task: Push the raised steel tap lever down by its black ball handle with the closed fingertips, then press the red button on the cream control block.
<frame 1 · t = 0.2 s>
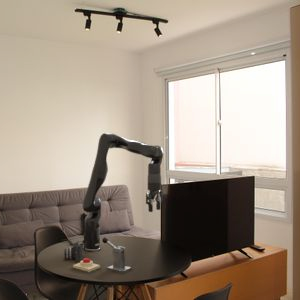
hand: (154, 210, 213), 29 cm above the table, tool pointing down, fingers open, 8 cm apart
tap lever: (111, 245, 206), point 12 cm above the table, hinge at 25.0°
tap bracket: (119, 269, 203), on the table
camera: (74, 259, 222), on the table
button block: (86, 269, 204), on the table
button: (86, 260, 204), point 4 cm above the table, slide at 0.1 cm
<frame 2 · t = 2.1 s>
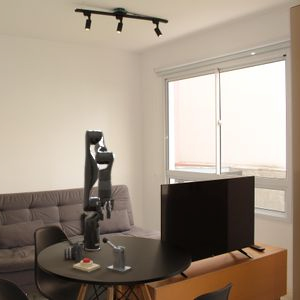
hand: (105, 219, 208), 25 cm above the table, tool pointing down, fingers open, 5 cm apart
nothing on the table moved.
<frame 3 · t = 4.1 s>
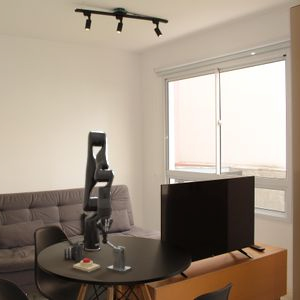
hand: (104, 238, 209), 15 cm above the table, tool pointing down, fingers closed
tap lever: (111, 245, 206), point 12 cm above the table, hinge at 21.9°, touching gripper
everything else where it was.
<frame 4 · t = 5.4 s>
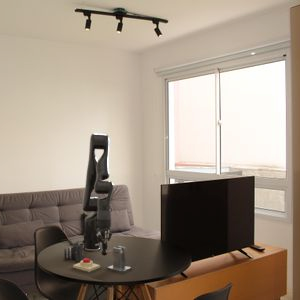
hand: (104, 249, 209), 9 cm above the table, tool pointing down, fingers closed
tap lever: (111, 251, 206), point 9 cm above the table, hinge at -15.0°, touching gripper
everything else where it was.
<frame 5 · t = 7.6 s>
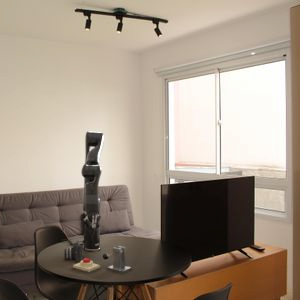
hand: (92, 234, 206), 18 cm above the table, tool pointing down, fingers closed
tap lever: (112, 253, 206), point 8 cm above the table, hinge at -27.2°
everything else where it was.
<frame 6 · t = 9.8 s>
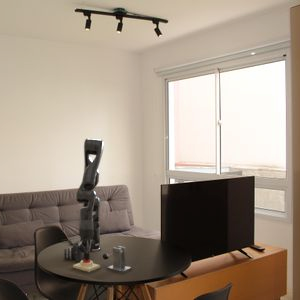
hand: (86, 259, 204), 5 cm above the table, tool pointing down, fingers closed
button: (86, 261, 204), point 4 cm above the table, slide at -0.3 cm, touching gripper
everything else where it was.
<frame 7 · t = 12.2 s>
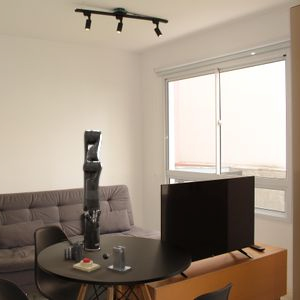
hand: (92, 229, 211), 20 cm above the table, tool pointing down, fingers closed
button: (86, 260, 204), point 4 cm above the table, slide at 0.1 cm
everything else where it was.
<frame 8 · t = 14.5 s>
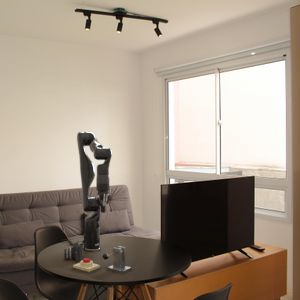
hand: (103, 212, 222), 27 cm above the table, tool pointing down, fingers closed
nothing on the table moved.
at the end: tap lever at -27° (first picture: +25°); button pushed in 1.1 cm at the most during the clip and back out by the end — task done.
